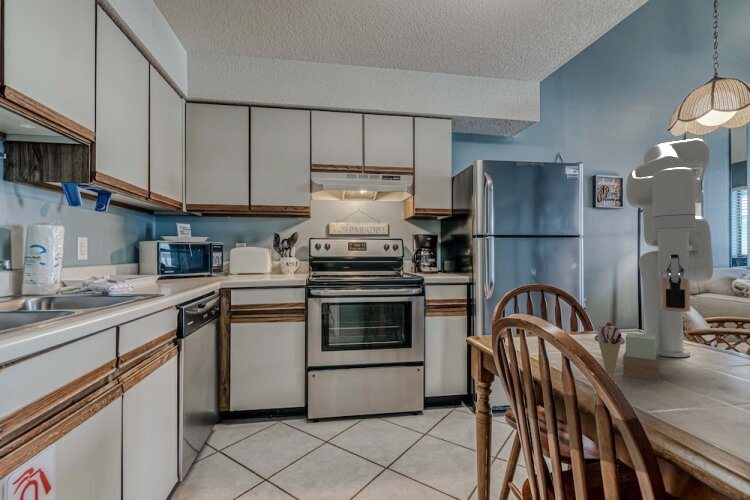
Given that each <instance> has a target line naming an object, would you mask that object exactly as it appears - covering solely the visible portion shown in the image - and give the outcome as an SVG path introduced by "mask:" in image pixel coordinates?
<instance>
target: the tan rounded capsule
mask: <svg viewBox="0 0 750 500" xmlns="http://www.w3.org/2000/svg"><path fill="white" fill-rule="evenodd" d="M690 283H691V282H690V279H688V278H683V290H685V308H684V309H682V308H668V307H666V289H667V278H661V309H662V310H667V311H678V312H682V313H684V312H685V313H687V312H691V289H690V288H691V287H690V286H691V284H690Z"/></svg>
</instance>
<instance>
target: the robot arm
mask: <svg viewBox="0 0 750 500" xmlns="http://www.w3.org/2000/svg"><path fill="white" fill-rule="evenodd" d="M710 151H711V150H710V147H709V145H708V144H707V142H706V141H705V140H703V139H700V138H693V139H685V140H678V141H670V142H664V143H660V144H656V145H654V146H652V147H650V148H648V150H647V151H646V153H644V156H643V164H642V163H641V164H640V165H637V166H636V167H635V168H634V169H632V171H630V173H629V174H628V176H627V179H626V184H625V194H626V195H625V197H626V199H627V203H628V204H629V206H631V207H632V208H639V209H640V208H642V215H643V216H642V218H643V219H642V220H643V237H644V242H645V244H646V245H647V246H649V247H651V248H657V250H652V251H647V252H645V253H643V254H642V255H641V256H640V258H639V261H638V262H639V263H638V264H639V265H638V266H639V271H640V277H641V283H642V292H643V293H642V296H643V297H642V298H643V334H647V335H656V355H659V357H669V358H688V357H690V355H691V351H689V349H686V348H684V330H683V329H684V328H683V327H684V321H683V312H678V311H667V310H662V309H661V278H667V289H666V307H668V308H682V309H684V308H685V290H683V278H688V279H690V283H705V282H708V281H710V280H711V279H712V277H713V273H714V261H713V259H714V258H713V248H712V247H713V246H712V235H711V229H710V223H709V222H708V220H707V219H706V218H705V217H703V216H699V215H696V201H697V200H698V198H699V197H700V196H701V194H702V184H701V183H702V181H703V179H704V176H705V173H706V171H707V168H708V166H709V163H710V156H711V155H710Z"/></svg>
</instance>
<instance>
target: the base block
mask: <svg viewBox="0 0 750 500" xmlns="http://www.w3.org/2000/svg"><path fill="white" fill-rule="evenodd" d="M622 360H623V364H622V365H623V366H622V367H623V376H624V377H630V378H635V379H644V380H648V381H649V380H650V381H656V382H659V381H660V356H659V355H656V360H650V359H643V358H635V357H628V356H626V350H625V352H624V353H623V356H622Z"/></svg>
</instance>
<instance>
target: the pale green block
mask: <svg viewBox="0 0 750 500" xmlns="http://www.w3.org/2000/svg"><path fill="white" fill-rule="evenodd" d="M625 351H626V356H628V357H635V358H643V359H650V360H656V335H647V334H644V333H636V332H635V333H634V332H626V335H625Z"/></svg>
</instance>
